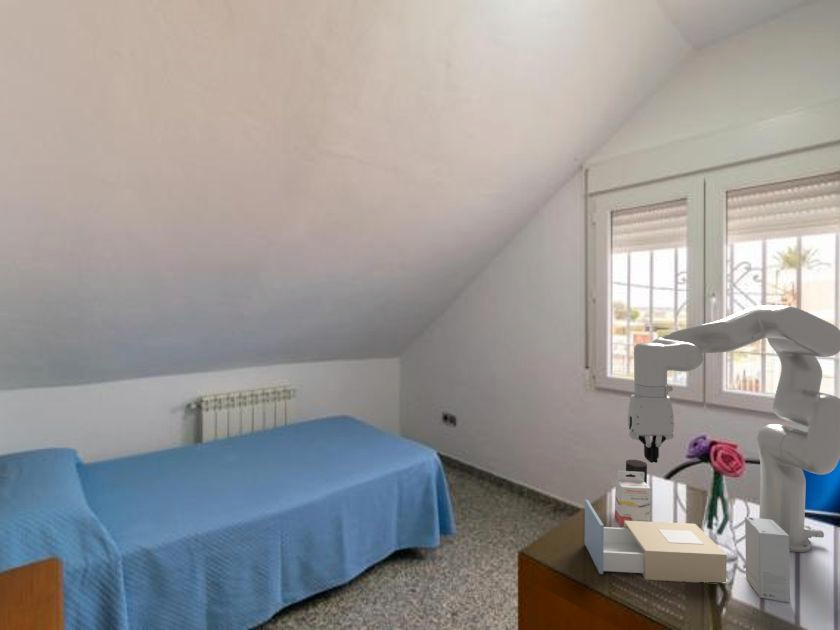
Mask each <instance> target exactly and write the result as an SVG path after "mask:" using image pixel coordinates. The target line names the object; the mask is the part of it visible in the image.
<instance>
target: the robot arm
mask: <svg viewBox="0 0 840 630" xmlns="http://www.w3.org/2000/svg"><path fill="white" fill-rule="evenodd" d="M763 339H767V342H768V344H769V345H770V347H771V348H772V349H773V351H774V352H775V353H776V354H777V357H778V358H779V361H780V366H781V367H780V368H781V370H780V377H779V379H778V384H777V387H776V391H775V395H774V399H773V404H772V411H773V412H774V415H776V416H777V417H778V418H779V419H781V420H784V421H787V422H790V423H792V424H795V425H796V424H797V425H800V426H804V427H806V428H808V429H807V431H803V430H802V429H799V428H798V429H797V428H795V427H792V426H788V425H784V424H779V423H771V424H767V425H766V424H765V425H764V426H762V427H761V428H760V429H759V431H758V432H757V435H756V446H757V450H758V456H759V462H760V483H759V484H760V486H759V490H760V491H759V517H758V518H760V519H770V520H773V521H774V522H775V523H776V524H777V525H778V526H779V527H780V528H781V529H783V530H784V531H785V532H786V533H787V534H788V535H789V552H792V553H806V552H809V551H810V550H812V542H811V540H810V539H812V537H814V538H824V536H825V533H824V531H823V530H822V529H814V528H811V526H810V525H805V521H806V520H805V518H806V517H805V513H806V511H805V510H806V487H807V486H806V483H807V482H806V477H805V472H804V471H807V472H809V473H813V474H816V475H827V474H829V473H831V472H832V471H834V470H835V468H836V467H837V465H838V463H839V461H840V398H839V396H838V397H837V396H835V395H833V394H831V393H830V394H829V393H824V392H821V391H820V390H821V384H822V380H823V369H822V366H821V364H820V362H819V360H818V358H817V357H819V358H830V357H833V356H835V355H837V354H838V353H840V328H838V327H837V326H836V325H835V324H833V323H831V322H829V321H826V320H824V319H823V318H820V317H818V316H817V315H815V314H811V313H810V312H807V311H805V310H803V309H800V308H798V307H795V306H789V305H756V306H751V307H749V308H746V309H744V310H741V311H739V312H736V313H734V314H731V315H729V316H726V317H724V318H721V319H719V320H715V321H713V322H709V323H704V324H700V325H696V326H691V327H686V328H683V329H678V330H675V331H672V332H670V333H667V334H664V335H662V336H660V337H657V338H655V339H654V340H653V341H651V342H639V343H636V344H635V345H634V348H633V368H634V369H633V370H634V371H633V375H634V376H633V379H634V381H633V383H634V387H633V389H634V393H633V394H631V395H630V398H629V404H628V411H627V412H628V413H627V429H628V430H629V433H628V437H629V438H630V439H632V440H636V441H640V442H641V443H642V444H643V453H644V454H643V455H644V458H645V459H646V460H647V461H648V462H649V463H658V459H659V457H660V449H659V448H660V447H661V446H662V444H663V443H664V442H665V441H668V440H672V439H674V438H675V436H674V433H675V432H674V431H675V418H674V417H675V416H674V410H673V404H672V400H671V397H670V396H669V392H673V390H674V388H673V386H672V385H668V372H669V371H674V372H683V373H684V372H691V371H692V372H693V371H695V370H696V369H699V368H700V366H701V365H702V363H703V360H704V354H717V353H720V354H721V353H728V352H734V351H736V350H738V349H741V348H743V347H745V346H748V345H751V344H752V343H755V342H758V341H760V340H763Z"/></svg>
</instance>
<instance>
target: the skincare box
mask: <svg viewBox="0 0 840 630" xmlns="http://www.w3.org/2000/svg"><path fill="white" fill-rule="evenodd" d="M744 523H745V525H744V528H745V529H744V532H745V534H744V535H745V539H744V540H745V578H746V579H747V580H748V582H749V584H750V585H751V586H752V588H753V590H754V591H755V592H756V593H757V594H758V596H759V597H760V598H761V599H767V600H768V599H769V600H771V601H772V600H773V601H777V602H781V603H782V602H783V603H789V604H790V603H791V573H790V571H791V568H790V567H791V566H790V551H789V535H788V534H787V533H786V532H785V531H784V530H783V529H781V528H780V527H779V526H778V525H777V524H776V523H775V522H774V521H773V520H770V519H760V518H759V517H748V516H747V517H744Z"/></svg>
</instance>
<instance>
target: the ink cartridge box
mask: <svg viewBox="0 0 840 630" xmlns="http://www.w3.org/2000/svg"><path fill="white" fill-rule="evenodd" d="M630 474H632V475H635V477H626V475H630ZM644 475H645V473H644V472H634V471H626V470H617V471H616V480H615V490H614V491H615V494H614V495H615V497H614V498H615V499H614V519H615V520H616V521H617V523H618V524H619V526H623V527H624V521H645V522H651V498H652V495H651V494H652V488H651V487H650V486H649V485H648V483H647V484H646V483H645V482H644Z"/></svg>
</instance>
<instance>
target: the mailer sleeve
mask: <svg viewBox="0 0 840 630" xmlns="http://www.w3.org/2000/svg"><path fill="white" fill-rule="evenodd" d="M623 528H628V529H629V530H630V532H631V533H632V534H633V536H634V537H635V539H636V540H637V541H638V543H639V544H640V546H641V547H642V548H643V550H644V551H645V571H644V573H641V575H642V576H643V578H644V580H647V581H648V580H649V581H665V582H667V581H669V582H681V583H682V581H685V582H684V583H699V582H704V583H703V584H709V583H708V582H726V583H727V560H728V559H727V558H728V557H727V556H728V555H727V553H726V552H725V551H724V550H723V549H722V548H721V547H720V546H718V545H717V544H716V542H715V541H713V540H712V538H710V537H709V536H708V535H707V534H706V532H704V531H703V530H702V529H701V528H700V527H699V526H698V525H697V524H696V523H688V522H685V523H682V522H668V521H667V522H664V521H663V522H661V521H650V522H645V521H624V526H623ZM705 582H707V583H705Z"/></svg>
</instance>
